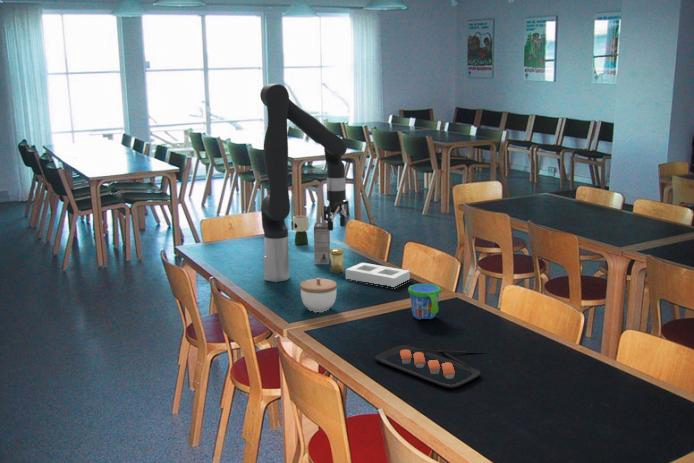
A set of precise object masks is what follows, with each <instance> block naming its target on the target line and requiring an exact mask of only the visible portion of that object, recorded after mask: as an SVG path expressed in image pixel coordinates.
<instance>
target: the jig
mask: <svg viewBox="0 0 694 463" xmlns="http://www.w3.org/2000/svg"><path fill="white" fill-rule="evenodd" d="M347 279H351V280H350V281H352V280H356V281H355V282H357V281H362V282H369V283H374V284H380V285H387V286H391V287H395V286H397V285H399V284H401V283H403V282H405V281H407V280H409V279H410V280H411V271H410V270H408V269H401V268H396V267H391V266H390V267H388V266H385V265H378V264H372V263H368V262H360V263H358V264H356V265H353V266H350V267H348V268H346V269H345V280H347ZM362 282H361V283H362Z"/></svg>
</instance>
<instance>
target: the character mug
mask: <svg viewBox="0 0 694 463" xmlns="http://www.w3.org/2000/svg"><path fill="white" fill-rule="evenodd" d="M292 218H293V220H292V222H293V231H294V232H295V233H294V234H295V236H294V244H295V245H305V244H308V243H309V238H308V231H309V227H310V226H309V216H307V215H294V216H293V217H292Z"/></svg>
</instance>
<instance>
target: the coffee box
mask: <svg viewBox="0 0 694 463" xmlns="http://www.w3.org/2000/svg"><path fill="white" fill-rule="evenodd" d="M330 235H331V234H330V230H328V225H327V222H315V223H314V226H313V245H314V246H313V247H314V248H313V249H314V250H313V254H314V265H329V264H330V262H331V253H330V249H331V242H330V240H331V236H330Z"/></svg>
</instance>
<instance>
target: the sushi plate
mask: <svg viewBox="0 0 694 463" xmlns="http://www.w3.org/2000/svg"><path fill="white" fill-rule="evenodd" d="M411 351H413V352H415V353H414V354H413V358H414V365H415V366H416V368H424V367H425V365H426V361H425V357H424V355H426V356H429V357H430V358H433V359H436V360H429V361H428V362H427V363H428V367H429V369H430V373H431V374H439V372H440V368H441V367H440V364H439V361H438V360H440V361H442V362H445V363H442V364H441V366H442V370H443V376H444V377H445V378H446V379H453V378H454V376H455V370H454V367H453V365H454V366H456V367H458V368H461V369H464V370H466V371H470V372H471V373H472V375H471V376H470V377H468V378H467V379H465V380H462V381H461V382H458V383H456V384H452V385H450V384H445V383H441V382H438V381H436V380H433V379H431V378H428V377H425V376H423V375H420V374H418V373H416V372H413V371H411V370H408V369H406V368H403V367H401V366H398V365H396V364H393V363H390V362H388V361H387V360H385V359H386V358H387V357H389V356H392V355H396V354H397V353H400V356H401V359H402V363H403V364H410V363H411V358H412V354H411ZM466 351H467V350H466ZM466 351H463V350H443V349H442V350H441V349H440V350H436V349H423V348H418V347H416V346H412V345H407V344H403V345H401V344H400V345H398V346H395V347H392V348H390V349H388V350H385V351H382V352H380V353H378V354H377V355H375V357H374V358H375V360H376V361H378V362H379V363H382V364H383V365H387V366H389V367H392V368H395V369H398V370H400V371H402V372H405V373H407V374H410V375H412V376H414V377H415V376H416V377H418V378H420V379H422V380H425V381H428V382H429V383H433V384H435V385H439V386H441V387H444V388H449V389H453V388H458V387H461V386H463V385H464V384H467V383H469V382H471V381H473V380H474V379H477V378H478V377H479V376H481V371H480V370H479V369H477V368H474V367H472V366H470V365H469V364H466V363H465V362H463V361H461V360H459V359H457V358H455V357H454V356H452V355H450V354H448V353H452V352H466ZM433 352H436V353H437V352H440V353H441V352H443V353H445V354H446V355H445V354H444V355H445V356H447V355H448V356H447V358H446V357H443V356H441V355H438V354H435V353H433ZM443 353H442V354H443ZM448 357H449V358H450V359H449V358H448ZM452 359H453V360H452Z"/></svg>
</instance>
